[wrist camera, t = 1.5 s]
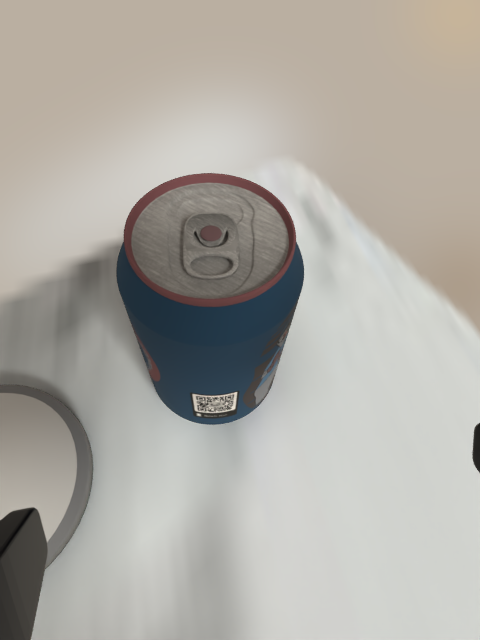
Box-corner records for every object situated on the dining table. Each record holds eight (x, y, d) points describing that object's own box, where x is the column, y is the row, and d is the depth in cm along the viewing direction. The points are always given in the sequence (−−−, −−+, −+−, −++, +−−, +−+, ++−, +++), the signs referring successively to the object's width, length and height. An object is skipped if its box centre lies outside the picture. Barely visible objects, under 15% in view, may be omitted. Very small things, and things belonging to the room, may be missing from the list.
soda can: (157, 323, 25) (116, 160, 15) (266, 321, 25) (300, 162, 15) (150, 433, 21) (89, 321, 11) (277, 429, 22) (330, 316, 12)
